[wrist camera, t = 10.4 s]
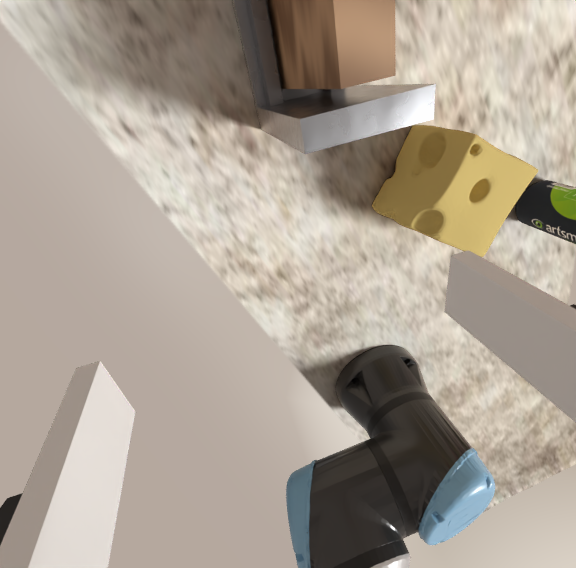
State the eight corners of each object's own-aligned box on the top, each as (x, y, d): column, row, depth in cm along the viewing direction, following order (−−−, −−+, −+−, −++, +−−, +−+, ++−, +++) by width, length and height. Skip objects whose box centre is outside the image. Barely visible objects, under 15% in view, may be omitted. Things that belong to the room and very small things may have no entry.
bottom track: (343, 108, 33) (433, 119, 21) (260, 129, 32) (305, 154, 20) (323, -126, 24) (459, -342, 12) (208, -107, 23) (230, -321, 11)
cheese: (368, 207, 40) (415, 238, 32) (412, 117, 36) (480, 125, 27) (428, 228, 44) (483, 261, 36) (474, 150, 40) (549, 166, 32)
